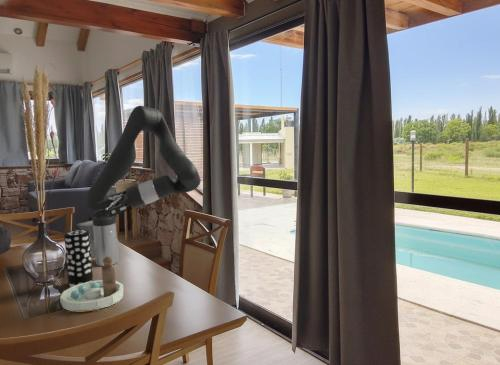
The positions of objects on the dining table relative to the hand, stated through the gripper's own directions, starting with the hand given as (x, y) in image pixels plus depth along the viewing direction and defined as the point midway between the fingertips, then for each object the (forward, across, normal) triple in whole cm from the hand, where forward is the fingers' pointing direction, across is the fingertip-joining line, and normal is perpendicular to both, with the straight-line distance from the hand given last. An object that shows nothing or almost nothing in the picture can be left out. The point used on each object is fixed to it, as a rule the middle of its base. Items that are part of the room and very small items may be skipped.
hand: (97, 210), depth 133 cm
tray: (+11, +10, +26) cm, 30 cm away
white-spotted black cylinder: (+18, -4, +27) cm, 33 cm away
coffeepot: (+22, -43, +35) cm, 59 cm away
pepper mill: (+6, +11, +26) cm, 29 cm away
